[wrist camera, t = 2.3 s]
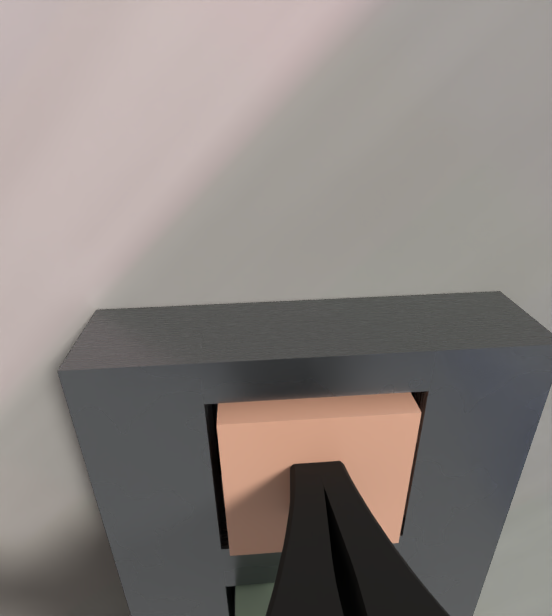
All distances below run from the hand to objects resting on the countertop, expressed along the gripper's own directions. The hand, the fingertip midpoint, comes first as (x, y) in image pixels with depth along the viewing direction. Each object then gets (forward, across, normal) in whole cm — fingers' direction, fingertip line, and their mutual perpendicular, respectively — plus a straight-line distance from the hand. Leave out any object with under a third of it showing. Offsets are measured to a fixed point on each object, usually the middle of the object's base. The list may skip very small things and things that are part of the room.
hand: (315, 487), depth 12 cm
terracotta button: (+3, 0, 0) cm, 3 cm away
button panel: (+3, 0, +8) cm, 8 cm away
